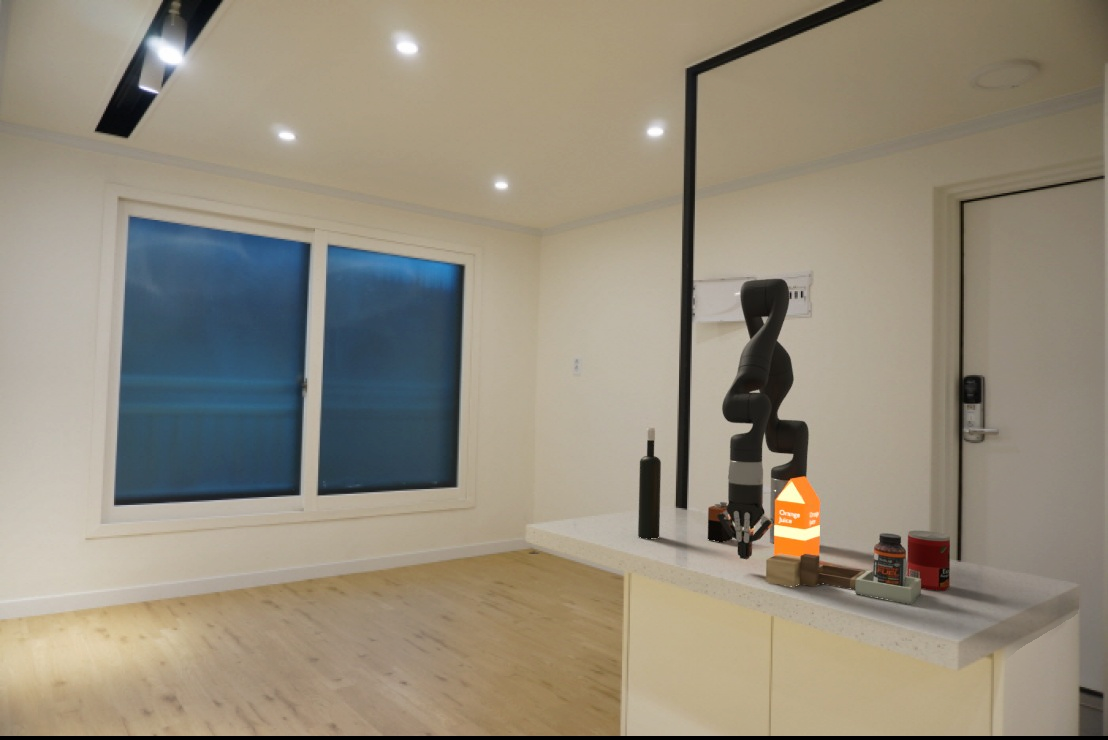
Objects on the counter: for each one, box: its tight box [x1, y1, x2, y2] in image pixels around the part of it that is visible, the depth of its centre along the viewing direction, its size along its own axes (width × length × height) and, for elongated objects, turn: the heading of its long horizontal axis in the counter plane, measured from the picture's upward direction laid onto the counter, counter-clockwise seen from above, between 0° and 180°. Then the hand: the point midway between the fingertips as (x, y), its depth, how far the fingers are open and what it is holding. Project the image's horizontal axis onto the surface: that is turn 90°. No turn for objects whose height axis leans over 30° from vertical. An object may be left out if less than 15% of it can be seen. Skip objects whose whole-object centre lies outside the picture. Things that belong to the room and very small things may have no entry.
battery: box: [707, 501, 734, 543], centre depth 192 cm, size 4×7×10 cm, turn 139°
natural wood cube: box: [765, 553, 801, 588], centre depth 150 cm, size 8×6×5 cm
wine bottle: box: [637, 427, 662, 540], centre depth 193 cm, size 6×6×30 cm
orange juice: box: [773, 476, 821, 557], centre depth 170 cm, size 8×9×20 cm
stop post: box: [800, 553, 820, 588], centre depth 148 cm, size 3×3×6 cm
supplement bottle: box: [872, 532, 907, 587], centre depth 142 cm, size 6×6×11 cm
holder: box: [819, 563, 866, 590], centre depth 151 cm, size 9×9×2 cm
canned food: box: [906, 530, 951, 592], centre depth 150 cm, size 8×8×11 cm
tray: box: [854, 570, 922, 605], centre depth 142 cm, size 10×10×3 cm
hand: (744, 558), depth 157 cm, fingers closed
